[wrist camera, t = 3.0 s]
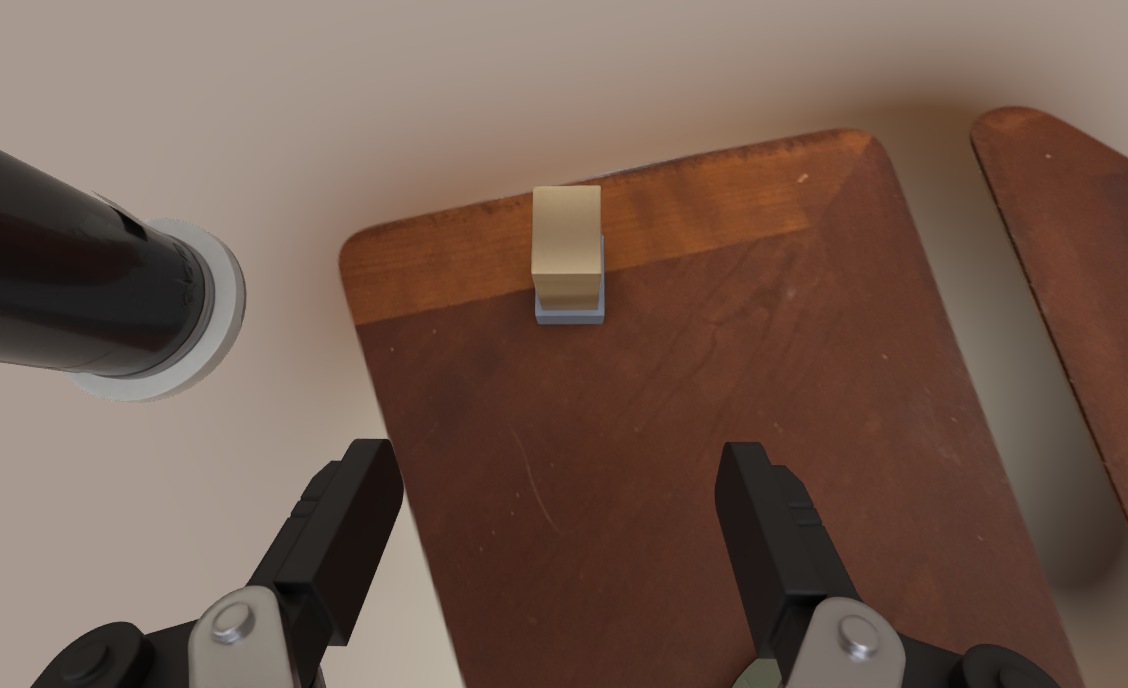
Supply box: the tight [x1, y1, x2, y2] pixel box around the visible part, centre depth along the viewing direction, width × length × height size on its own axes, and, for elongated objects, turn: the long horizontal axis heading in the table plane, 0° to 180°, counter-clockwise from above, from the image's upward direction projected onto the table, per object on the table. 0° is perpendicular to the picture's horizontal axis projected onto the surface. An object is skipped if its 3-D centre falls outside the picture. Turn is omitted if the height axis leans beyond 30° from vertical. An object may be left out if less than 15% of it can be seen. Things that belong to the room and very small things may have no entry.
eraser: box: [531, 186, 605, 324], centre depth 26 cm, size 5×4×8 cm
